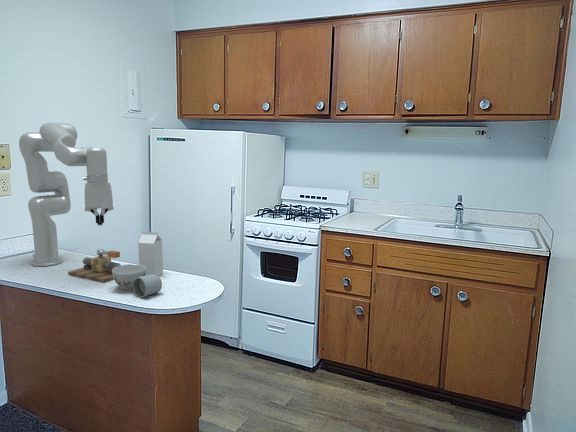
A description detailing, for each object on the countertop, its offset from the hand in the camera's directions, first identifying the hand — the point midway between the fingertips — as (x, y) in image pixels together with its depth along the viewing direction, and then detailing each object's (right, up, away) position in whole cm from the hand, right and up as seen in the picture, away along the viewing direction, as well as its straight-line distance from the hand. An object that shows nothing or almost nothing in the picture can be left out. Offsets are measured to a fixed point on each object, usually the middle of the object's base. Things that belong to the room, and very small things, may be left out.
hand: (100, 224), depth 172 cm
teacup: (+15, -25, -5) cm, 29 cm away
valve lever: (0, -13, +8) cm, 16 cm away
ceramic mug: (+23, -26, -13) cm, 37 cm away
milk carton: (+18, -22, +10) cm, 30 cm away
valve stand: (-4, -21, +11) cm, 25 cm away
